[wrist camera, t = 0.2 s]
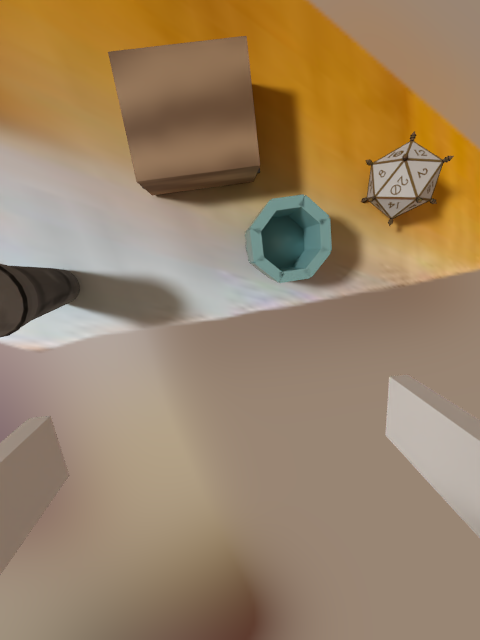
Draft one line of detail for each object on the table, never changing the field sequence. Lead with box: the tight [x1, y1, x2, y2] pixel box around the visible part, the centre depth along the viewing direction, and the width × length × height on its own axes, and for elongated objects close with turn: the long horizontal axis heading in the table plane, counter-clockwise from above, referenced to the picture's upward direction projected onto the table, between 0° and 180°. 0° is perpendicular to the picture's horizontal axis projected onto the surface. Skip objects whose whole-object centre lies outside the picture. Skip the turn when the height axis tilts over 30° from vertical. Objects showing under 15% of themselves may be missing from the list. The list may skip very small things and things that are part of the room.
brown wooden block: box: [108, 36, 260, 195], centre depth 28 cm, size 11×13×6 cm
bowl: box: [245, 195, 332, 283], centre depth 32 cm, size 9×9×7 cm
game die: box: [361, 131, 453, 226], centre depth 30 cm, size 9×8×10 cm
